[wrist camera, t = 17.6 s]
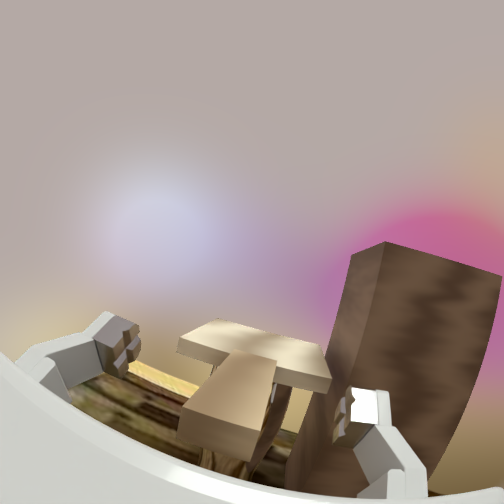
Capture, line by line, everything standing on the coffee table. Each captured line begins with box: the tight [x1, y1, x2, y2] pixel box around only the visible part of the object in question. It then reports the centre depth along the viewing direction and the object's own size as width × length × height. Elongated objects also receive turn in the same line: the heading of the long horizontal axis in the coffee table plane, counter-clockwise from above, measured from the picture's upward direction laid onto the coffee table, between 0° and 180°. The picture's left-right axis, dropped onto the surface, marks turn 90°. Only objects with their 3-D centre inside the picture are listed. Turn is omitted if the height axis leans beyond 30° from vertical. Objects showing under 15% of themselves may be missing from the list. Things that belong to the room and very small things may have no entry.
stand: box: [284, 242, 502, 498], centre depth 23 cm, size 11×12×26 cm
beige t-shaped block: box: [176, 318, 332, 462], centre depth 20 cm, size 11×21×2 cm, turn 172°
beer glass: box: [197, 365, 292, 482], centre depth 23 cm, size 7×7×15 cm
